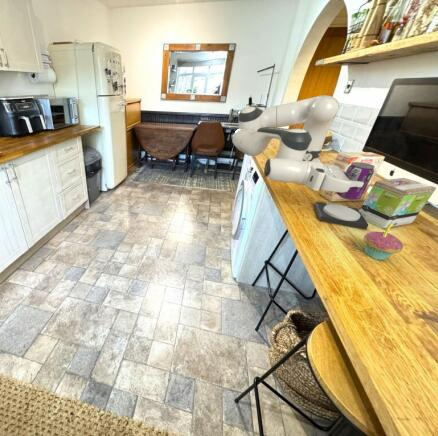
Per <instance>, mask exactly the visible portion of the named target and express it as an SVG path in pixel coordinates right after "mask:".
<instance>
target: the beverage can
mask: <svg viewBox="0 0 438 436" xmlns="http://www.w3.org/2000/svg"><path fill="white" fill-rule="evenodd" d="M374 167H375V166H373V165H371V164H367V163H361V162H352V163H351V165H350V166H349V167H348V168H347V170H346V173H345V175H346V176H347V178H348V179H349V180H352V181H356V180H358V181H362V182H363V183H364V184H363V186H362V187H350V188H349V190H348V192H343V193H341V192H336V193H337V194H338V195H339V196H340V197H342V198H344V199H348V200H357V199H360V198H361V197H362V195H363V193H364V191H365V189H366V187H367V185H368V183H369V181H370V179H371V177H372V175H373V173H374V169H373V168H374Z"/></svg>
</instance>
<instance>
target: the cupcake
mask: <svg viewBox="0 0 438 436" xmlns="http://www.w3.org/2000/svg"><path fill="white" fill-rule="evenodd" d="M391 226H392V221H391V223H389V225H388V227H387V228H385V230H384V231H374V230H373V231H370V232H367V233H366V234H364V236H363V242H364V244H365V250H364V253H365V254H366V255H367V256H369V257H371V258H373V259H375V260H379V261H383V260H386V259H387V258H389V257H391V256H392V255H394V254H399V253H401V252H402V251H403V249H404V245H403V242H402V241H401V240H400V239H399V238H398V237H396V236H395V235H394V234H391V233H389V231H390V230H391V228H392V227H391Z"/></svg>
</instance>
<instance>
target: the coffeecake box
mask: <svg viewBox="0 0 438 436" xmlns="http://www.w3.org/2000/svg"><path fill="white" fill-rule="evenodd" d="M385 158H386V156H384V155H381V154H378V153H374V152H371V151H370V152H368V151H366V152H364V151H363V152H361V151H358V152H354V151H353V152H351V151H350V152H337V154H336V157H335V160H334V161H333V164H332V165H336V166H339V167H340V169H341V170H342V171H345V172H346V170H347V168H348V167H349V166H350V165H351V163H352V162H361V163H367V164H371V165H373V166H375V167H374V168H373V169H374V173H373V175H372V177H371V179H370V181H369V183H368V185H367V187H366V189H365V191H364V193H363V195H362V197H361V198H360V199H357V200H348V199H344V198H342V197H340V196H339V195H338V194H337V193H336V192H331V191H324V190H321V193H320V196H321V197H323V198H324V199H326V200H327V201H329V202H330V203H333V202H356V201H357V202H358V201H362V202H363V200H364V197H365V196H366V194H367V192H368V190H369V188H370V187H371V184H372V182H373V181H374V179H375V176H376V175H377V173H378V171H379V169H380V167H381V165H382V164H383V162H384V160H385Z"/></svg>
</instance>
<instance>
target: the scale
mask: <svg viewBox="0 0 438 436" xmlns="http://www.w3.org/2000/svg"><path fill="white" fill-rule="evenodd" d="M313 206H314V209H315V212H316V215H317V218H318V221H319V222H324V223H328V224H332V225H333V224H334V225H340V226H344V227H349V228H353V229H354V228H355V229H360V230H365V231H366V230H367V229H368V227H369V222H368V221H366V220H365V219H364V217H363V216H362V214H361V213H360V212H359V210H360V209H358V208H357V207H353V206H352V207H351V206H348V205H344V204H338V203H333V202H323V201H315V203H314V205H313Z"/></svg>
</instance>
